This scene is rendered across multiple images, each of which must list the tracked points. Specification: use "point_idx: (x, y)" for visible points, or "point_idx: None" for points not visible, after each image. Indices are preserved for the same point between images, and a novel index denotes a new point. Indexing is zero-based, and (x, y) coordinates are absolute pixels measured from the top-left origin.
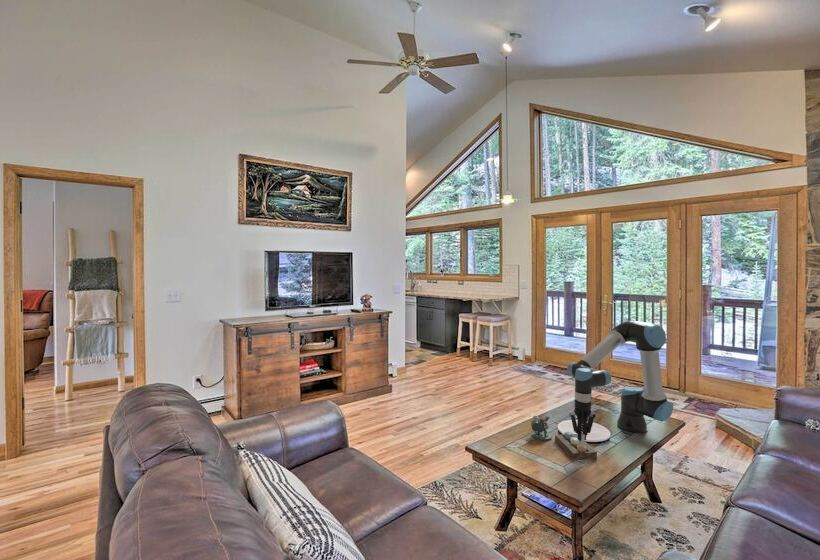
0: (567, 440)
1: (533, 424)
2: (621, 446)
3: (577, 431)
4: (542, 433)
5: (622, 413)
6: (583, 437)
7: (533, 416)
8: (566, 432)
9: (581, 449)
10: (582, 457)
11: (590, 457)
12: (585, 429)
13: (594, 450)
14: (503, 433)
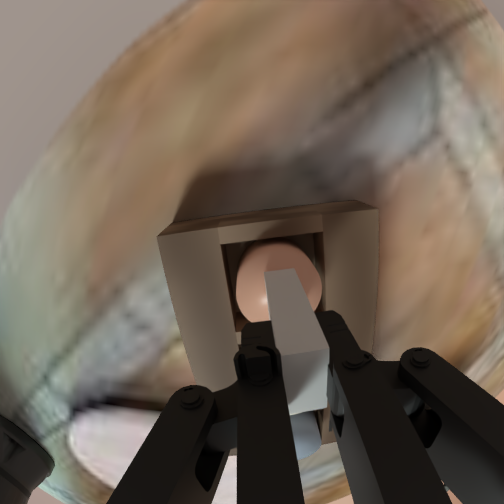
0: None
1: None
2: (27, 356)
3: (425, 373)
4: None
5: (24, 484)
6: (295, 328)
7: (447, 490)
8: (301, 455)
9: (297, 253)
10: (290, 210)
11: (221, 218)
12: (274, 435)
13: (169, 264)
14: None
